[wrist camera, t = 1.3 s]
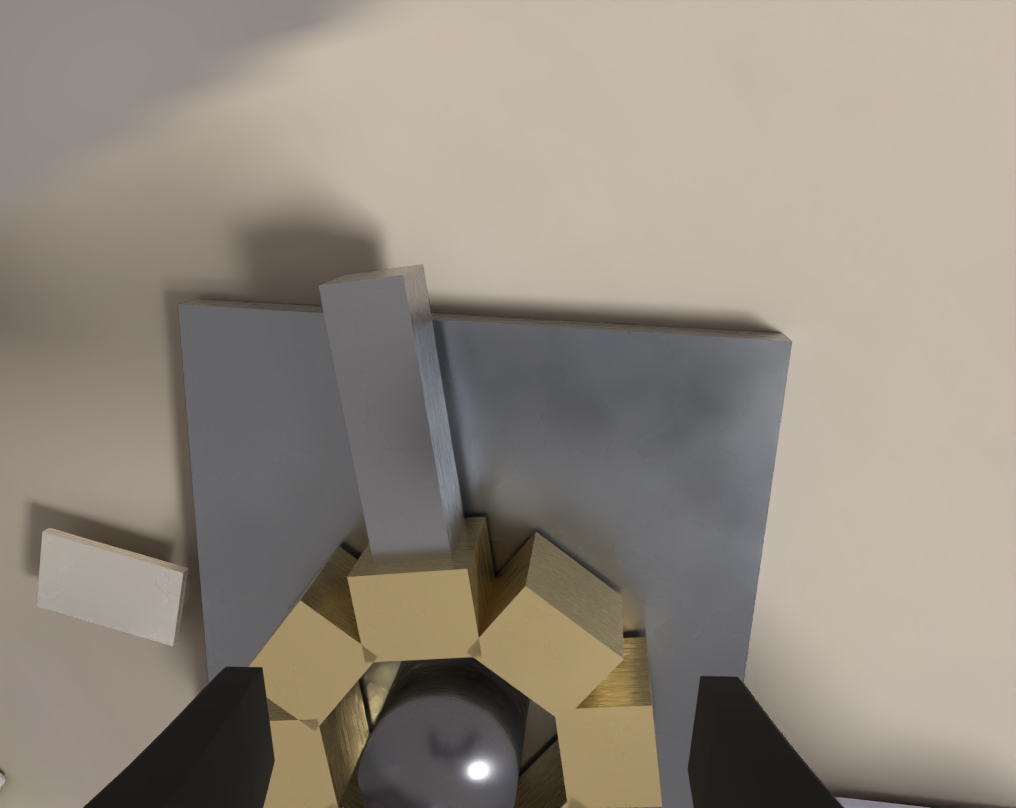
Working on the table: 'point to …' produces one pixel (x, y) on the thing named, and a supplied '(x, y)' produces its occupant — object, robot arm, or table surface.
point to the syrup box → (2, 780)
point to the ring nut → (443, 591)
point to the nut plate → (470, 516)
